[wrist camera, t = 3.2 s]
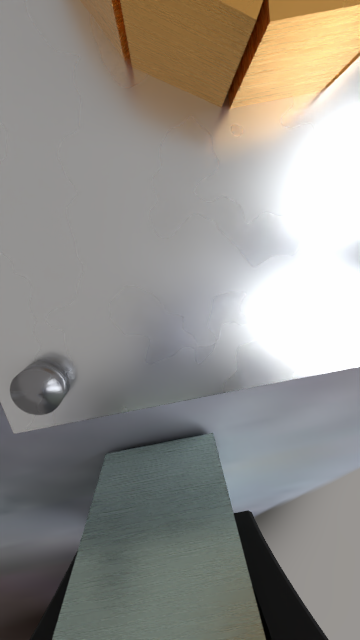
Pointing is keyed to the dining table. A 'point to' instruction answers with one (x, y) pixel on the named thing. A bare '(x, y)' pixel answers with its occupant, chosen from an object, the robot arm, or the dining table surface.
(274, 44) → the bolted plate with ring
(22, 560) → the dining table surface
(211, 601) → the mint green square pillar
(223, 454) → the dining table surface
